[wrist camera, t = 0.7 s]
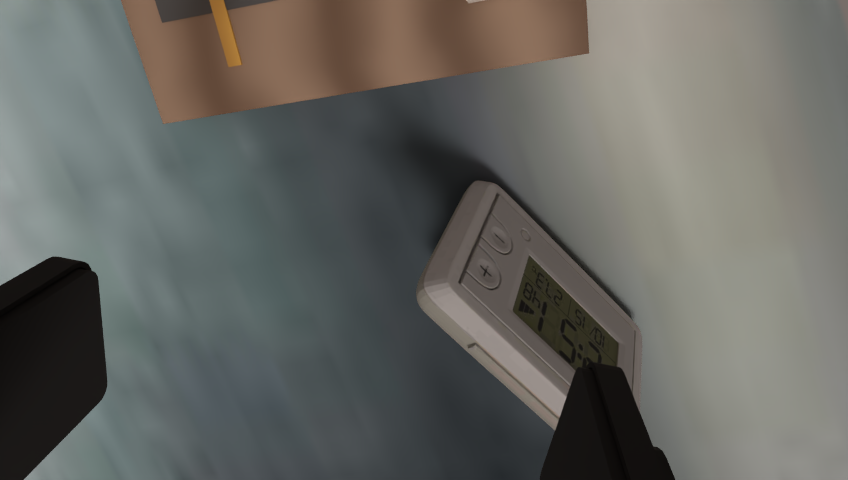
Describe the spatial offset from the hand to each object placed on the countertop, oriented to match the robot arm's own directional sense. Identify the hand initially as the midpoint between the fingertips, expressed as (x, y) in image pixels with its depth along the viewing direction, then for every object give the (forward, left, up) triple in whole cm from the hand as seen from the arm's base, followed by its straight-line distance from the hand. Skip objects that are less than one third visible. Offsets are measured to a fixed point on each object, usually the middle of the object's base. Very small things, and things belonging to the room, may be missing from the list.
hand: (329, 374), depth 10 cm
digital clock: (-5, +11, -25) cm, 28 cm away
